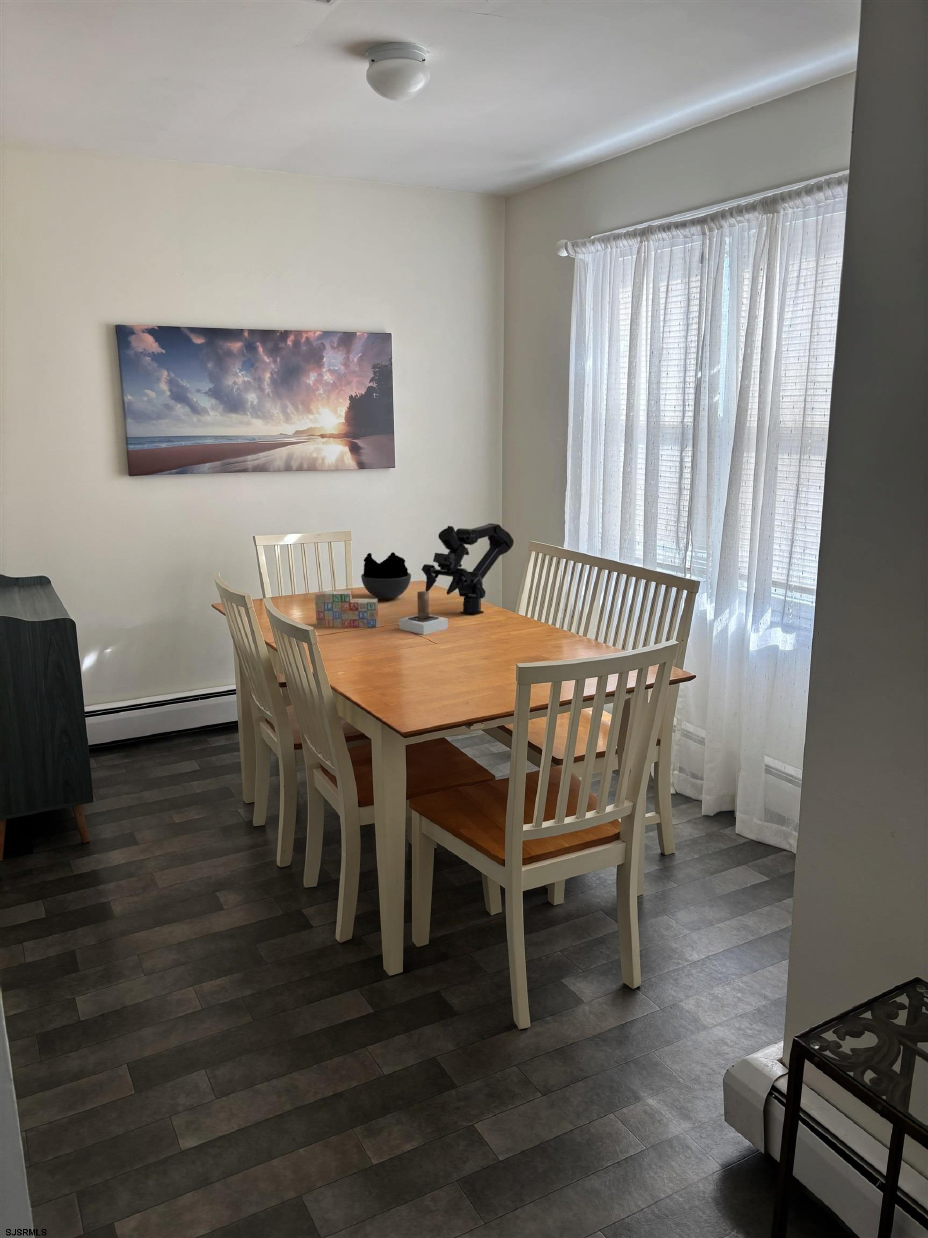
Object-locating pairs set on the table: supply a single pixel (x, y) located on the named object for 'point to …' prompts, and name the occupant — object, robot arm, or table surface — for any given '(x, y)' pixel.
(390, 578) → the coal bowl
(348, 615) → the stack of blocks
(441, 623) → the socket block
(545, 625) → the table surface
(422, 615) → the walnut peg
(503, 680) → the table surface
